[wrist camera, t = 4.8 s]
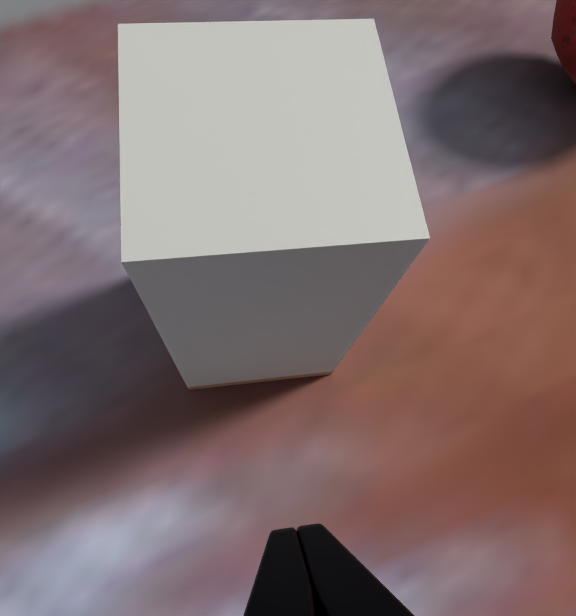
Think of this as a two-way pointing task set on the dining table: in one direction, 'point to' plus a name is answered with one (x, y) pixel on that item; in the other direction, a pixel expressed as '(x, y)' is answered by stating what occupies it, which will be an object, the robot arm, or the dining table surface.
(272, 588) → the robot arm
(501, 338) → the dining table surface
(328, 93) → the block
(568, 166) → the dining table surface
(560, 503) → the dining table surface
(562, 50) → the onion
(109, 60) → the dining table surface
